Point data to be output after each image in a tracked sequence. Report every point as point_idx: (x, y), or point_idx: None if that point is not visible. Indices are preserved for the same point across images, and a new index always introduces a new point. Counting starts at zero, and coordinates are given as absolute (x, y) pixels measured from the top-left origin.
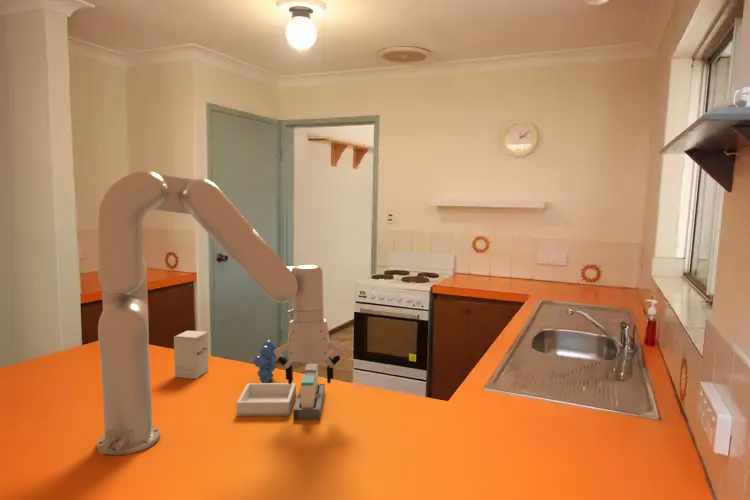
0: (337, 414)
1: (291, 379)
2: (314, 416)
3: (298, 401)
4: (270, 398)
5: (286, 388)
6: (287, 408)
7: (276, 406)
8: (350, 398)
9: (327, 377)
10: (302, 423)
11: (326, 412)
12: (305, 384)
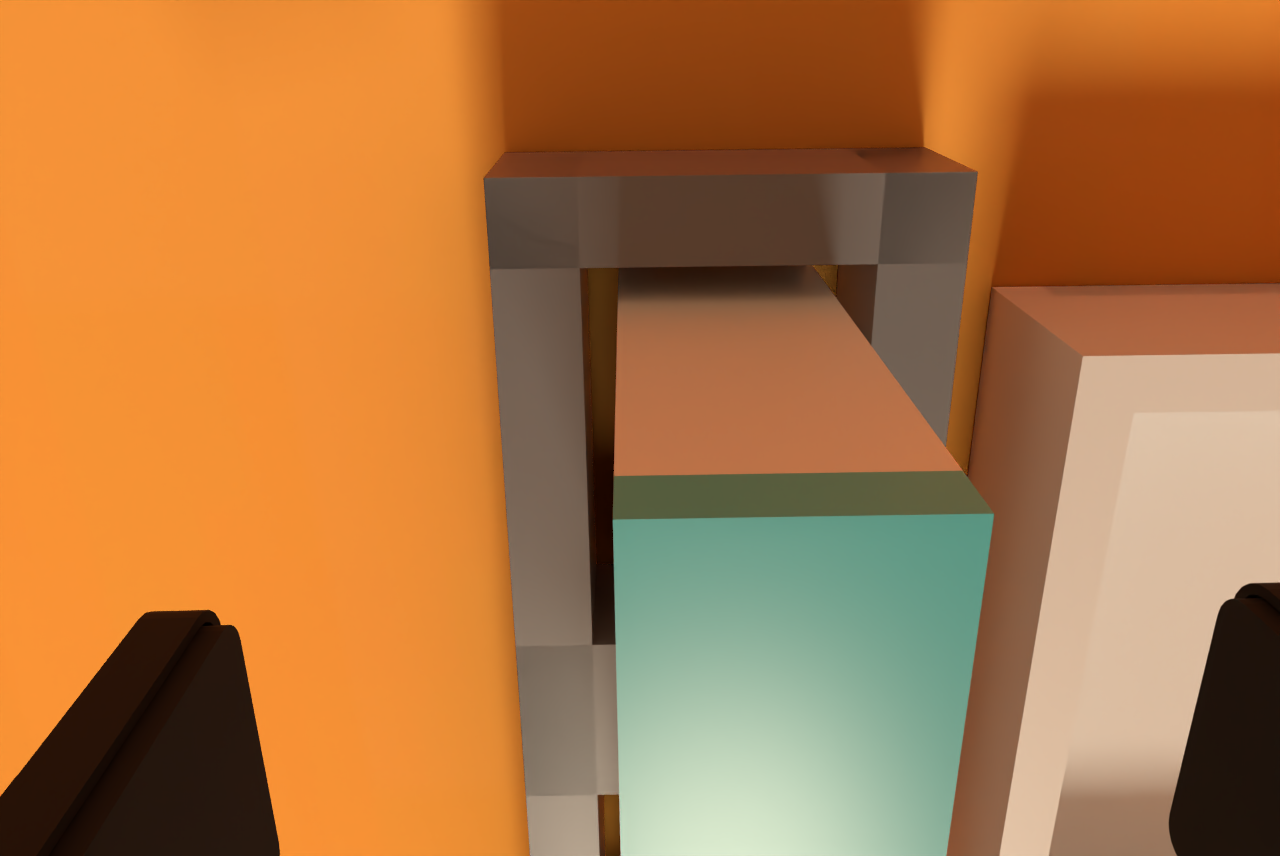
0: (260, 343)
1: (1278, 693)
2: (587, 156)
3: None
4: None
5: None
6: (1067, 320)
7: (1275, 330)
8: None
9: (157, 717)
10: (771, 7)
11: (439, 410)
12: (842, 484)
